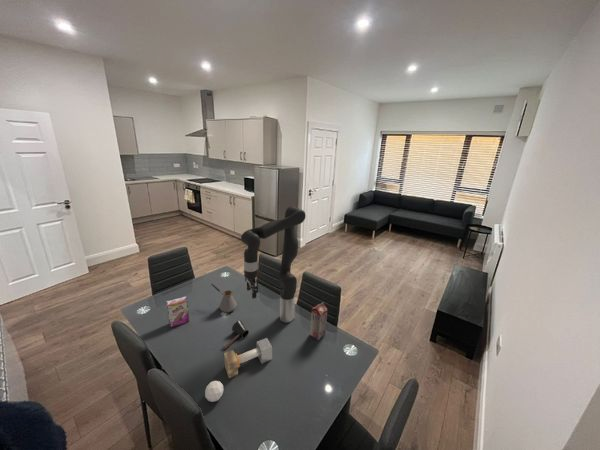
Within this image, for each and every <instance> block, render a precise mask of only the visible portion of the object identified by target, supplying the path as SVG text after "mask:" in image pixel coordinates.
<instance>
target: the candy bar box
mask: <svg viewBox="0 0 600 450" xmlns="http://www.w3.org/2000/svg"><path fill="white" fill-rule="evenodd" d="M165 302H166V309H167V315H168V323H169V324H168V325H169V328H173V327H177V326H180V325H183V324H186V323H189V322H190V317H189V315H190V314H189V306H188V299H187V296H182V297H179V298H174V299H171V300H166V301H165Z"/></svg>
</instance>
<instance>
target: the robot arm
mask: <svg viewBox="0 0 600 450" xmlns="http://www.w3.org/2000/svg"><path fill="white" fill-rule="evenodd" d="M305 219H306V211H304V210H303V209H302V208H299V207H296V206H288V207H287V208H286V210H285V213H284V218H281V219H277V220H272V221H270V222H269V221H268V222H266V223H265V224H263V225H261V226H259V227H254V228H251V229H247V230H245V231H243V233H242V234H241V236H240V239H241V240H240V241H241V242H242V243H243V244H245V245H246V246H247V248H246V249H245V250H244V251H243V252H244V253H243V258H244V259H243V261H244V262H243V276H244V282H245V284H246V291H251V298H252V299H257V294H258V293H259V282H258V281H257V280H256V278H257V277H258V276H259V262H258V260H259V259H258V258H259V257H258V252H259V249H260V245H261V239H262V240H265V239H267V238H269V237H271V236H273V235H275V234H277V233H279V232H282V231H284V234H283V235H284V236H283V244H282V245H283V246H282V254H281V255H282V256H281V260H280V261H281V264H280V269H279V274H278V282H279V284H280V285H282V287H283V288H282V289H281V290H280V293H279V320H280V321H281V322H283V323H291V322H292V321H294V319H296V317H295V316H296V306H295V295H296V293H297V283H298V282H297V281H298V280H297V277H296V276H295V275H294V274H293V273H291V265H292V263H293V262H294V260H295V259H296V258H297V255H298V251H299V240H298V237H297V234H296V230H295V226H298V225H300V224H302V223H304V222H305Z"/></svg>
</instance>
